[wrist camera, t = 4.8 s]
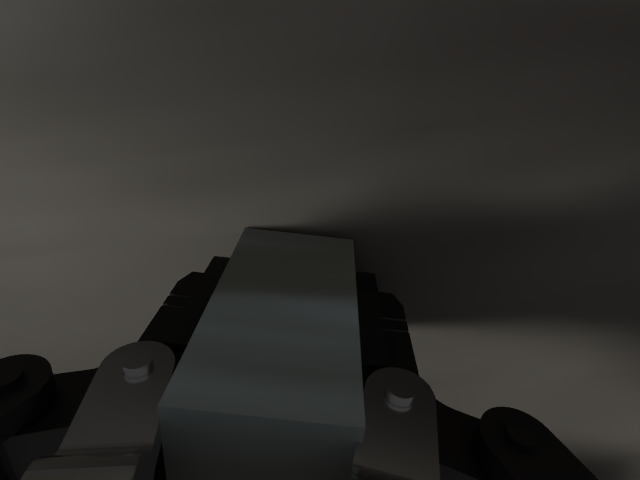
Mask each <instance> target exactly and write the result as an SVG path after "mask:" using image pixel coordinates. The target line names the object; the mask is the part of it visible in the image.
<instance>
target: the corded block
mask: <svg viewBox="0 0 640 480" xmlns="http://www.w3.org/2000/svg"><path fill="white" fill-rule="evenodd" d="M157 407H158V415H159V421H160V429H161V437H162V448H163V456H164V465H165V473H166V480H349V478H350V472H351V465H352V460H353V455H354V450H355V445H356V442H363V438H364V433H365V429H366V426H365V410H364V395H363V379H362V364H361V349H360V333H359V318H358V303H357V287H356V272H355V256H354V241H353V239H344V238H335V237H326V236H317V235H307V234H298V233H289V232H280V231H271V230H261V229H252V228H245V229H244V231H243V233H242V235H241V237H240V239H239V241H238V244H237V246H236V248H235V250H234V252H233V254H232V256H231V258H230V260H229V262H228V264H227V266H226V268H225V270H224V272H223V274H222V276H221V278H220V280H219V282H218V284H217V286H216V288H215V290H214V292H213V294H212V296H211V298H210V300H209V302H208V304H207V306H206V308H205V310H204V312H203V314H202V316H201V319H200V321H199V323H198V325H197V327H196V329H195V331H194V333H193V335H192V337H191V339H190V341H189V343H188V345H187V347H186V349H185V351H184V353H183V355H182V357H181V359H180V361H179V363H178V365H177V367H176V369H175V371H174V373H173V375H172V377H171V379H170V381H169V383H168V385H167V387H166V389H165V391H164V393H163V396H162V398H161V400H160V402H159V404H158V406H157Z"/></svg>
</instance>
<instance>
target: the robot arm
mask: <svg viewBox="0 0 640 480" xmlns="http://www.w3.org/2000/svg"><path fill="white" fill-rule="evenodd" d="M229 260H230V258H228V257H219V256H214V257H213V259H212V260H211V262H210V264H209V266H208V267H207V269H206V271H205V272H204V273H199V272H191V273H190V274H188V275H187V276H185V277H184V278H182V279H181V280H179V281H178V282H177V283H176V285H175V286H174V288H173V289H172V291H171V292H170V296H168V297H167V298H166V300H165V301H164V303H163V306H161V307H160V309H159V310H158V312H157V313H156V315H155V316H154V318H153V319H152V321H151V322H150V324H149V325H148V327H147V328H146V330H145V331H144V333H143V334H142V336H141V337H140V339H139V340H138V342H133V343H130V344H127V345H124V346H122V347H120V348H118V349H116V350H114V351H113V352H111V353H110V354H109V355H108V356H106V357H105V359H104V360H103V361H102V362H101V364H100V366H99V368H95V369H89V370H83V371H75V372H68V373H60V374H53V372H52V368H51V365H50V363H49V362H48V361H47V360H46V359H45V358H43V357H41V356H37V355H31V354H21V355H13V356H9V357H5V358H2V359H0V480H166V473H165V465H164V456H163V448H162V437H161V429H160V421H159V415H158V407H157V406H158V404H159V402H160V400H161V398H162V396H163V393H164V391H165V389H166V387H167V385H168V383H169V381H170V379H171V377H172V375H173V373H174V371H175V369H176V367H177V365H178V363H179V361H180V359H181V357H182V355H183V353H184V351H185V349H186V347H187V345H188V343H189V341H190V339H191V337H192V335H193V333H194V331H195V329H196V327H197V325H198V323H199V321H200V319H201V316H202V314H203V312H204V310H205V308H206V306H207V304H208V302H209V300H210V298H211V296H212V294H213V292H214V290H215V288H216V286H217V284H218V282H219V280H220V278H221V276H222V274H223V272H224V270H225V268H226V266H227V264H228V262H229ZM356 287H357V303H358V318H359V333H360V349H361V364H362V379H363V395H364V410H365V426H366V429H365V433H364V438H363V442H356V445H355V450H354V455H353V460H352V465H351V472H350V478H349V480H598V479H597V478H596V477H595V476H594V475H593V474H592V473H591V472H590V471H589V470H588V469H587V468H586V467H585V466H584V465H583V464H582V463H581V462H580V461H579V460H578V459H577V458H576V457H575V456H574V455H573V454H572V453H571V452H570V451H569V450H568V448H567V447H566V446H565V445H564V444H563V443H562V442H561V441H560V440H559V439H558V438H557V437H556V436H555V435H554V434H553V433H552V432H551V431H550V430H549V429H548V428H547V427H545V426H544V425H543V424H542V423H541V422H540V421H538V420H537V419H535V418H534V417H532V416H531V415H529V414H527V413H525V412H523V411H520V410H517V409H514V408H510V407H494V408H491V409H489V410H487V411H486V412H485V413H484V414H483V415H482V417H481V419H478V418H476V417H473V416H470V415H468V414H465V413H462V412H460V411H457V410H454V409H452V408H450V407H448V406H446V405H444V404H442V403H441V402H439V401H438V400H436V399H435V395H434V392H433V391H432V389H431V387H430V386H429V385H428V384H427V382H426V381H424V380H423V379H422V378H421V377H419V374H418V369H417V365H416V361H415V356H414V352H413V348H412V343H411V339H410V335H409V333H408V326H407V322H406V318H405V313H404V309H403V306H402V304H401V303H400V302H399V301H398V300H397V298H396V297H395V296H394V295H393V294H391V293H382V292H378V290H377V284H376V277H375V274H373V273H364V272H356Z"/></svg>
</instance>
